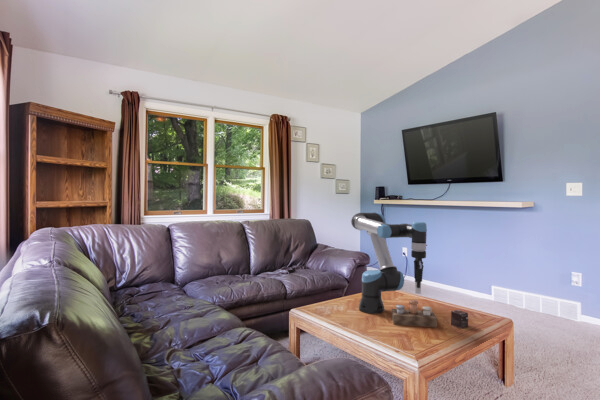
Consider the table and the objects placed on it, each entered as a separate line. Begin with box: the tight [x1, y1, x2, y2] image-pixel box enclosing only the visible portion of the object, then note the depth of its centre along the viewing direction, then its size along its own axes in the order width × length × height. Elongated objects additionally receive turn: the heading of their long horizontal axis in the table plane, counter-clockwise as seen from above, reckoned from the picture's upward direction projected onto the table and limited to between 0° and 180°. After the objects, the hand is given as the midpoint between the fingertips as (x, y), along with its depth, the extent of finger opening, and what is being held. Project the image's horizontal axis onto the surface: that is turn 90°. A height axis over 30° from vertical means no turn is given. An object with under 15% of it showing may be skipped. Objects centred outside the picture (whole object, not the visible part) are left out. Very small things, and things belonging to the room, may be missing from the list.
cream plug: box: [422, 305, 432, 315], centre depth 180 cm, size 5×5×8 cm
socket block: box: [391, 308, 438, 328], centre depth 181 cm, size 22×11×5 cm, turn 79°
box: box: [450, 309, 469, 329], centre depth 177 cm, size 6×6×7 cm
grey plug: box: [395, 304, 406, 314], centre depth 183 cm, size 5×5×8 cm
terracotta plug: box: [408, 299, 419, 315], centre depth 181 cm, size 5×5×8 cm
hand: (417, 293), depth 182 cm, fingers closed
